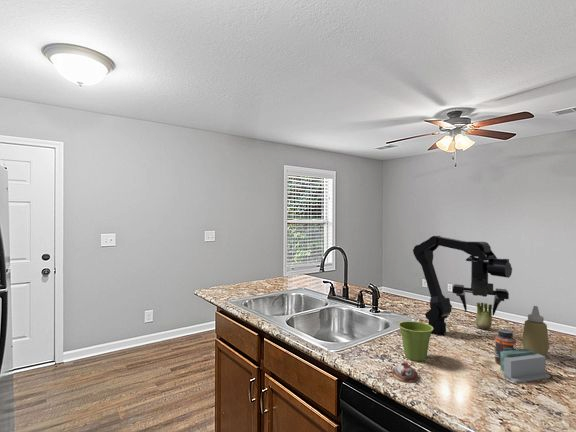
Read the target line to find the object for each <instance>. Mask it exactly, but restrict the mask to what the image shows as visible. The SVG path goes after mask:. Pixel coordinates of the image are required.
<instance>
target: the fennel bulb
mask: <svg viewBox="0 0 576 432" xmlns="http://www.w3.org/2000/svg"><path fill="white" fill-rule="evenodd" d="M492 310H493V304H491V303H486V302H477V303H476V314H475V315H476V316H475V325H476V327H477V328H479V329H480V330H484V331H485V330H486V331H487V330H490V329H491V327H492V323H493V315H492Z"/></svg>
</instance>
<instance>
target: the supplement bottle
mask: <svg viewBox="0 0 576 432" xmlns="http://www.w3.org/2000/svg"><path fill="white" fill-rule="evenodd" d="M513 334H514V333H513V331H512V330H509V329H506V328H500V329H498V332H497V334H496V336H495V337H494V357H495V362H496V363H497V364H499V365H500V364H501V352H502V351H510V350H517V341H516V339H515V338H514V337H513V336H514V335H513Z"/></svg>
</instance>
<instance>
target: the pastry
mask: <svg viewBox="0 0 576 432" xmlns="http://www.w3.org/2000/svg"><path fill="white" fill-rule="evenodd" d="M418 376H419V375H418V373H417V371H416V369H415V368H413V366H411V365H410V364H408V362H406V361H403V362H401V363H400V364H396V365H395V366H394V367H393V368H392V377H393V378H394V379H396V380H397V381H399V382H402V383H415V382H417V381H418V378H419V377H418Z"/></svg>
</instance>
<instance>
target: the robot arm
mask: <svg viewBox="0 0 576 432" xmlns="http://www.w3.org/2000/svg"><path fill="white" fill-rule="evenodd" d="M439 247H443V248H449V249H452V250H453V249H454V250H458V251H463V252H464V253H466V254H468V255H469V256H468V257H467V258H466V259H465V261H466V262H471V264H470V265H471V266H470V267H471V271H470V273H471V275H470V276H471V277H470V278H471V279H470V281H471V282H470V283H471V284H470V287H465V285H464V284H457V283H456V284H455V283H454V285H452V294H456V296H457V297H459V299H460V301H461V302H462V306H463V309H464V311H465V312H468V311H467V300H466V293H471V294H472V296H480V297H487V296H489V295H490V296H494V297H493V304H492V317H494V315H495V314H496V311H497V309H498V306H499V305H500V304H501V302H505V300H510V297H509V295H510V294H509V291H508V290H507V289H506V288H495V290H494V283H490V282H489V274H490V276H493V277H500V278H510V277H511V276H512V273H513V267H512V264H511V263H510V259H509V258H498V257H497V256H496V255H495V253H494V252H493V250H492V248H491V246H490V244H489V243H488V242H485V241H465V240H460V239H454V238H450V237H443V236H441V235H433V236H431V237H429V238H428V239H426V240H424V241H422V242H421V243H419V244H416V245H414V247H413V249H412V253H413V256H414V257H415V259H416V261H417V262H418V263H419V264H420V266H421V269H422V271H423V272H422V273H423V275H424V279H425V283H426V285H427V289H428V291H429V296H430V300H429V310H428V311H427V312H425V313H424V315H425V318H426V319H427V320H428V323H427V324H428V325H430V326H432V327H433V331H432V332H431V335H436V336H441V337H442V336H443V337H444V336H445V334H446V333H447V322H446V319H447V318H448V316H449V315H450V314H451V313H452V308H453V305H452V304H451V299H450V298H449V297H445V296H444V295H443V292H442V288H441V285H440V282H439V278H438V276H437V274H436V273H437V272H436V271H435V270H436V269H435V266H434V263H433V260H434V251H436V250H437V248H439Z"/></svg>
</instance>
